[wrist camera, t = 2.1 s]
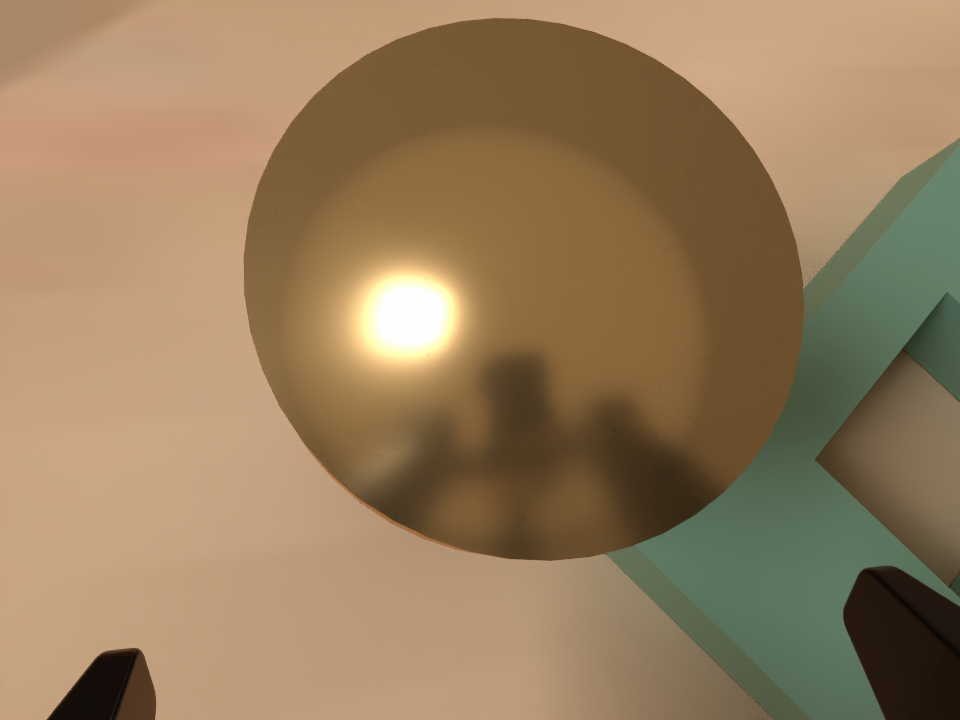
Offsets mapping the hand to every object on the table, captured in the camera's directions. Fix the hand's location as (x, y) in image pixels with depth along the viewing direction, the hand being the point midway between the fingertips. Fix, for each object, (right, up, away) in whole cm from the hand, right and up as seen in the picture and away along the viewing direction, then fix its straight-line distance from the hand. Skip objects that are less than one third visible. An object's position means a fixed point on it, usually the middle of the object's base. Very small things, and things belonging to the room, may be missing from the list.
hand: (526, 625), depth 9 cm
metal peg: (-2, +1, +11) cm, 11 cm away
